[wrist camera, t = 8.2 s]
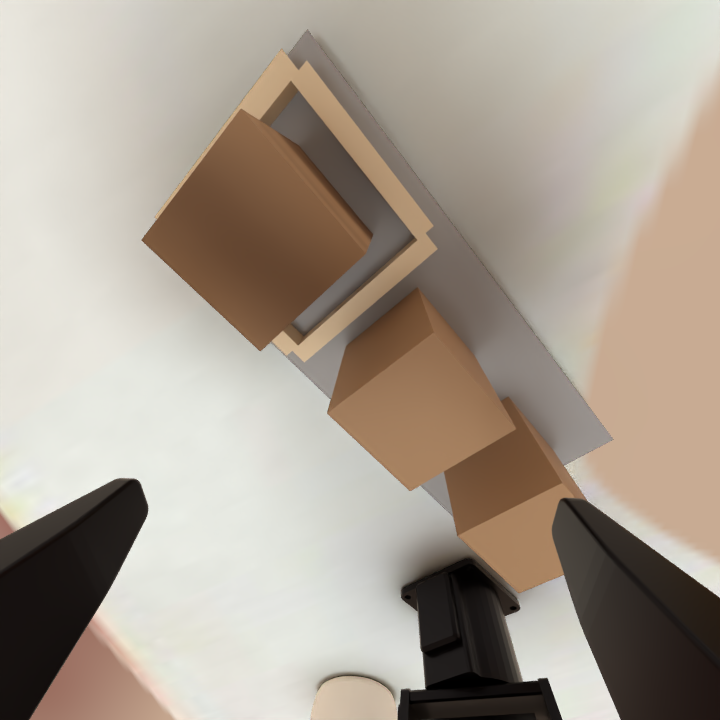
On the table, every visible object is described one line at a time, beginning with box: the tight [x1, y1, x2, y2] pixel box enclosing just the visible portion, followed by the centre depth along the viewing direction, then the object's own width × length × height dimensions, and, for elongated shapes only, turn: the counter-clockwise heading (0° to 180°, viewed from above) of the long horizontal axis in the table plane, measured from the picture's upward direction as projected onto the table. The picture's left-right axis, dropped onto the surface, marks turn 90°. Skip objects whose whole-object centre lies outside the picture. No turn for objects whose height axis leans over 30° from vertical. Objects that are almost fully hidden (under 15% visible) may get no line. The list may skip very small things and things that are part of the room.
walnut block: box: [142, 109, 373, 351], centre depth 12 cm, size 4×4×6 cm
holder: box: [155, 29, 613, 593], centre depth 15 cm, size 23×10×7 cm, turn 42°
